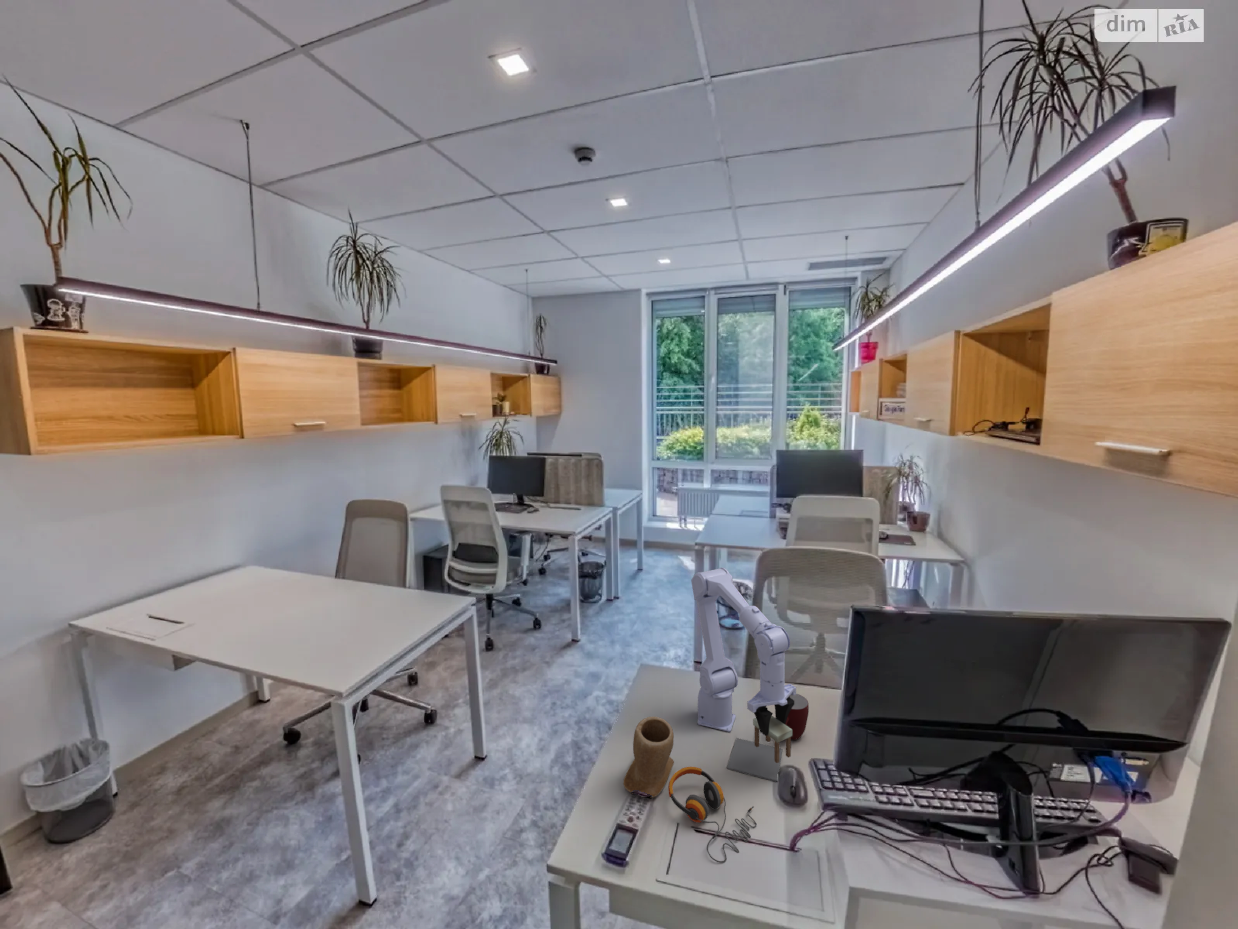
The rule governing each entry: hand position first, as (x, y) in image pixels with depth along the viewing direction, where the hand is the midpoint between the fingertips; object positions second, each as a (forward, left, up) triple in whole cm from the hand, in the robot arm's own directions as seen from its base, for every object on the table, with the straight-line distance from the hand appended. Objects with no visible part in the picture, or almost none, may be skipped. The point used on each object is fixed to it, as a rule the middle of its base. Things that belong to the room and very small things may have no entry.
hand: (772, 729), depth 119 cm
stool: (0, 0, -6) cm, 6 cm away
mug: (+3, +14, -11) cm, 18 cm away
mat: (-4, +2, -10) cm, 11 cm away
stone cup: (-26, -14, -11) cm, 32 cm away
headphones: (-11, -20, -11) cm, 25 cm away
